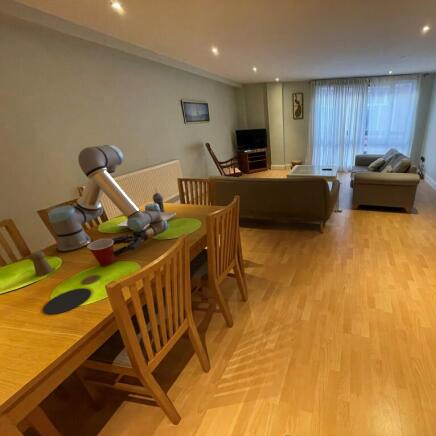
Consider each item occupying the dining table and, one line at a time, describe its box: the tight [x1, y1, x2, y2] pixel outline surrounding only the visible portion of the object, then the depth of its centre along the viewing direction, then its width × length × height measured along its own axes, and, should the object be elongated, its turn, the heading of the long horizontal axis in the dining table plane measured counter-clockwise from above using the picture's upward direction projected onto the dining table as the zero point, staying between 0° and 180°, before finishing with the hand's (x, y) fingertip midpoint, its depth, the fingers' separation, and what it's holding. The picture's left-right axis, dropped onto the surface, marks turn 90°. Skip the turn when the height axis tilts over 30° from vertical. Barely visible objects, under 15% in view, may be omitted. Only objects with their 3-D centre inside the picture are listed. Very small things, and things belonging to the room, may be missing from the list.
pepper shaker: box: [28, 251, 54, 277], centre depth 116 cm, size 6×6×11 cm
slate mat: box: [42, 288, 92, 315], centre depth 99 cm, size 15×15×1 cm
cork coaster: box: [81, 275, 99, 285], centre depth 112 cm, size 6×6×1 cm
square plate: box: [116, 211, 177, 229], centre depth 172 cm, size 27×27×4 cm
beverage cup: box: [152, 187, 165, 212], centre depth 190 cm, size 7×7×20 cm
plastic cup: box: [86, 238, 115, 267], centre depth 122 cm, size 11×11×12 cm
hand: (105, 251), depth 123 cm, fingers open, 13 cm apart
